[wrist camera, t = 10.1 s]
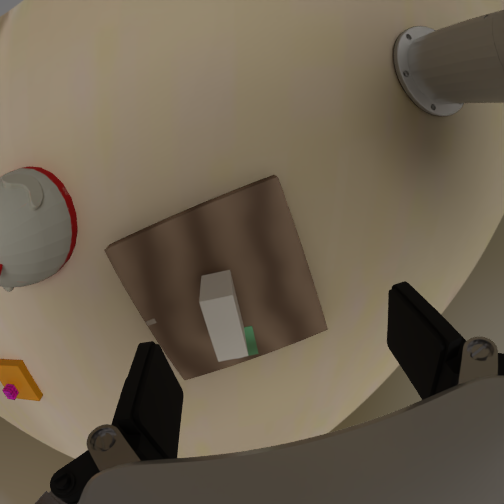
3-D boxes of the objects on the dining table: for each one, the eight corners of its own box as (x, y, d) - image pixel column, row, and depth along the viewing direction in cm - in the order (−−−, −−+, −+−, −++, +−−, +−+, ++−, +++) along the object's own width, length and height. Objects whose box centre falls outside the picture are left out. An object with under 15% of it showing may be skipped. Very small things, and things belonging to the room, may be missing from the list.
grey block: (202, 271, 32) (199, 301, 26) (229, 265, 32) (232, 295, 26) (227, 356, 37) (230, 394, 30) (250, 351, 37) (257, 389, 30)
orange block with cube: (-5, 357, 37) (-15, 371, 33) (23, 358, 37) (12, 374, 33) (15, 390, 39) (7, 404, 35) (44, 393, 40) (36, 409, 36)
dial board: (274, 174, 32) (277, 176, 30) (323, 321, 39) (328, 329, 37) (110, 244, 32) (104, 250, 30) (185, 370, 40) (184, 380, 38)
